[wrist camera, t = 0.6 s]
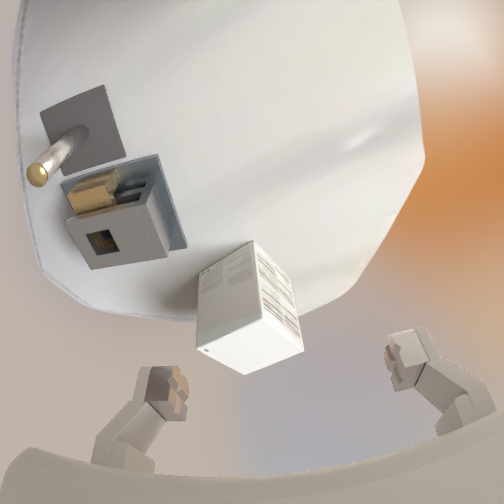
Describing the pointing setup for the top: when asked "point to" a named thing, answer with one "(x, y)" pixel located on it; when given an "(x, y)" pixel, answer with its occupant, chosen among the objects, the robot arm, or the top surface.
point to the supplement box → (247, 311)
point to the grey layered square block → (123, 214)
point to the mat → (98, 123)
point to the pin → (56, 156)
